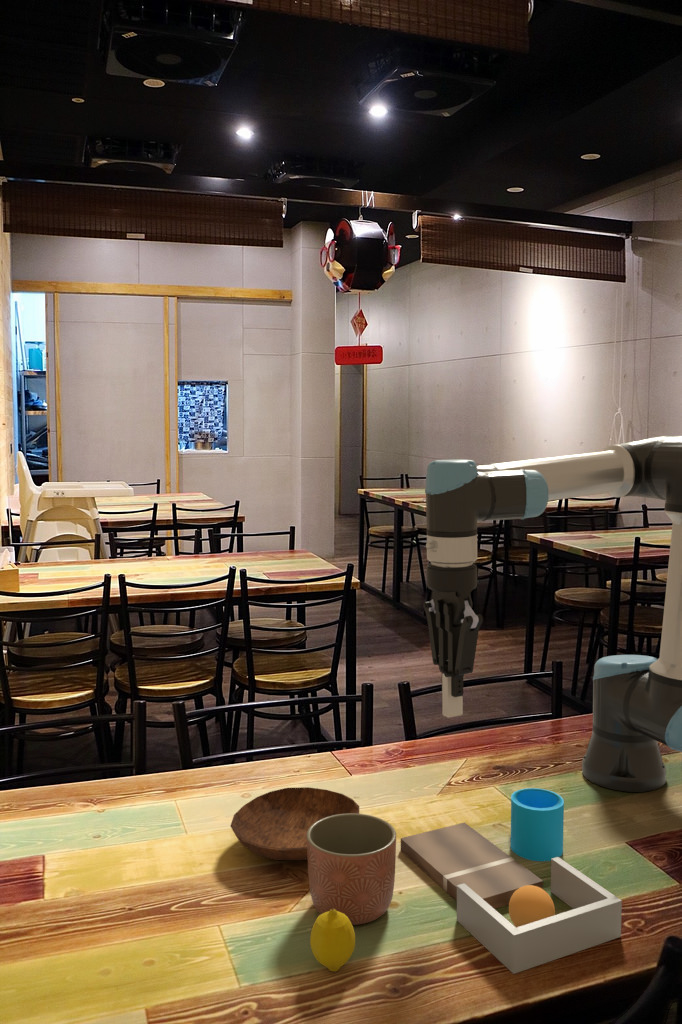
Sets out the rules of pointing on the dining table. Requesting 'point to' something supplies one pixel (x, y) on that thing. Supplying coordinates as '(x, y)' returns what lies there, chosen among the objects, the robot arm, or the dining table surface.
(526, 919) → the ball
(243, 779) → the dining table surface
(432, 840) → the board
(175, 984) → the dining table surface
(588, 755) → the robot arm
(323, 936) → the fruit
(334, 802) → the bowl
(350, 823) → the planter
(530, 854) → the mug
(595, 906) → the grey frame
